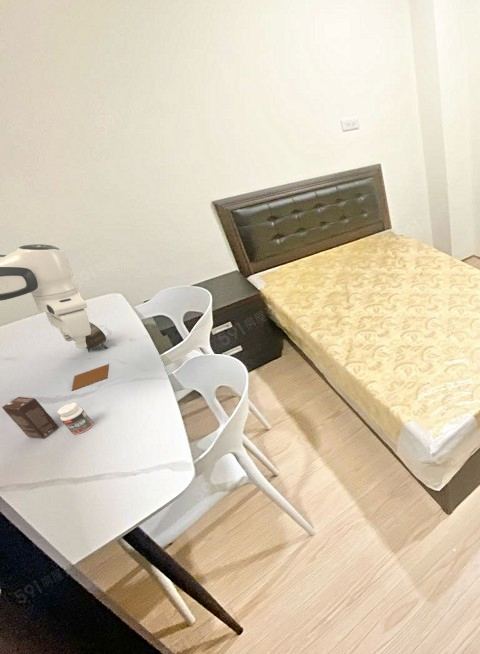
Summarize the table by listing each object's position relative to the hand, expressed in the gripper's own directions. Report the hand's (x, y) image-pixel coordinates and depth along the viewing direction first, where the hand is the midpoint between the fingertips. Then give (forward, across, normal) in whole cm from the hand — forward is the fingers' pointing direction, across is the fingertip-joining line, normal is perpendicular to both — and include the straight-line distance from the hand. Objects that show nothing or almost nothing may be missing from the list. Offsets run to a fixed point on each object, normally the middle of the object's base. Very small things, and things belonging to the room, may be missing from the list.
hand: (76, 343), depth 116 cm
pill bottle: (+24, +5, -6) cm, 25 cm away
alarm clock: (+18, -39, +12) cm, 45 cm away
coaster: (+20, -21, +4) cm, 29 cm away
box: (+25, -4, -12) cm, 28 cm away
